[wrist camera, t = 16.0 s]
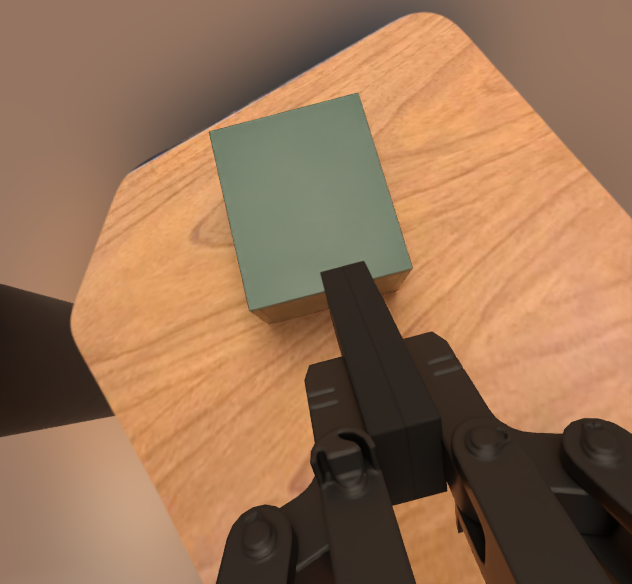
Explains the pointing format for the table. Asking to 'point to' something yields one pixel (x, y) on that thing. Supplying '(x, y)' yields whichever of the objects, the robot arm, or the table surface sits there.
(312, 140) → the bin lid
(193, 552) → the table surface
